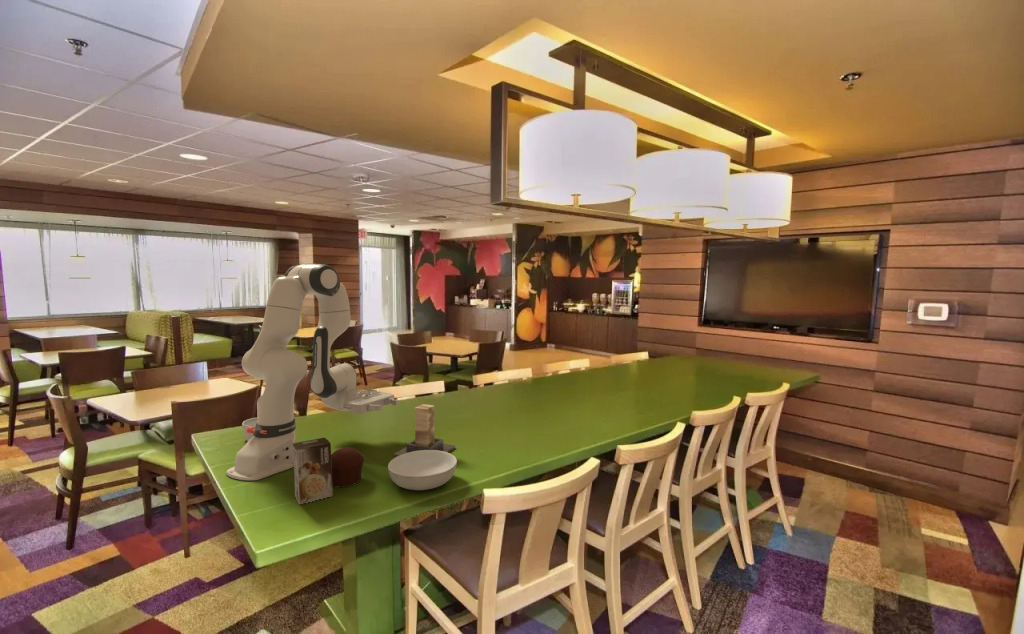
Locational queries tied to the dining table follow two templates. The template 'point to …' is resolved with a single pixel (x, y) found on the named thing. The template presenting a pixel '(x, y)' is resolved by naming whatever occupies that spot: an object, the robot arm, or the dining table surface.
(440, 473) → the serving bowl
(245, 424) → the ramekin
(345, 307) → the robot arm
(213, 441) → the dining table surface
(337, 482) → the muffin
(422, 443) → the pillar
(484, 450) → the dining table surface
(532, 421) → the dining table surface
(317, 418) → the dining table surface
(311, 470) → the printed cardboard box
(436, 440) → the collar
